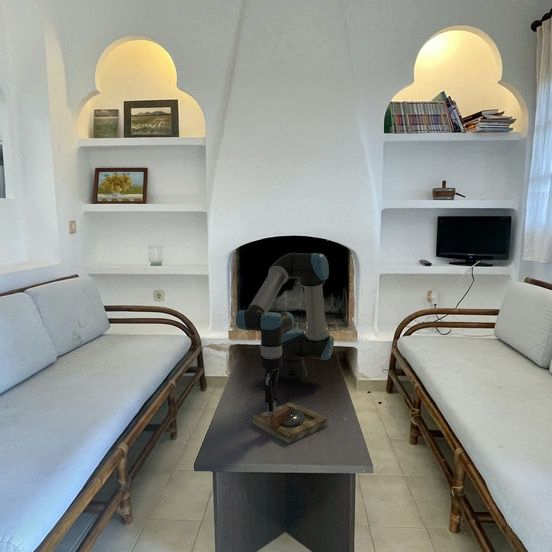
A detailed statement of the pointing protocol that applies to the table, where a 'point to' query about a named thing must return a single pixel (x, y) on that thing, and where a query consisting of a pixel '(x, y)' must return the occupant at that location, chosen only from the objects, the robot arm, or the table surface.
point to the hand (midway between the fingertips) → (271, 418)
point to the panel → (294, 433)
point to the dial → (287, 418)
